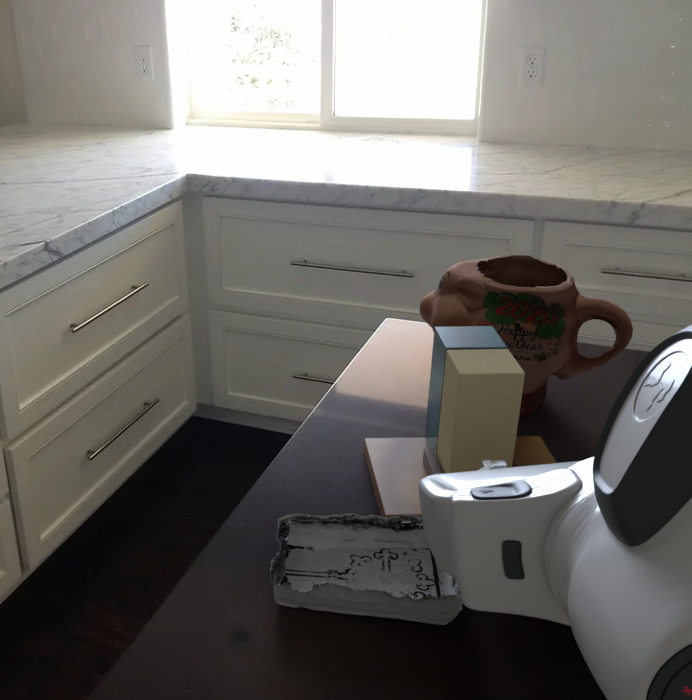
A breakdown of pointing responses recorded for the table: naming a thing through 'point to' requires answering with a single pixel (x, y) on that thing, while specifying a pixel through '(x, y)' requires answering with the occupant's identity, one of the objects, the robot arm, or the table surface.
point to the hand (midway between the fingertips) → (565, 463)
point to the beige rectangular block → (478, 409)
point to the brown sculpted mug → (526, 316)
